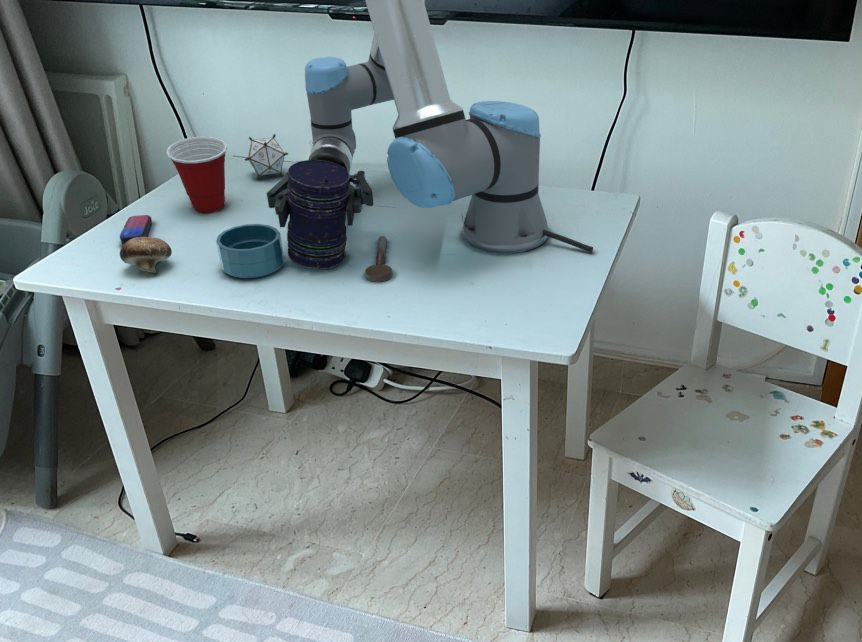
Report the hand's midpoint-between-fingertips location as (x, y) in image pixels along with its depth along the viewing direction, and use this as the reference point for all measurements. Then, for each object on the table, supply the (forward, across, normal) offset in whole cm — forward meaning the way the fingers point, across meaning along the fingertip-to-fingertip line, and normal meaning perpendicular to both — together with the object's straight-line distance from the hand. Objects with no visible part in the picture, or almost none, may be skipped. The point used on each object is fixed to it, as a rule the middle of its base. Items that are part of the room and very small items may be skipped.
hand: (315, 218), depth 143 cm
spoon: (-4, -9, -10) cm, 14 cm away
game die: (-46, +16, -11) cm, 49 cm away
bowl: (-4, +12, -10) cm, 16 cm away
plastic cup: (-30, +25, -11) cm, 40 cm away
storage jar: (-6, +2, -10) cm, 11 cm away
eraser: (-19, +35, -11) cm, 41 cm away
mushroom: (-5, +30, -11) cm, 32 cm away
